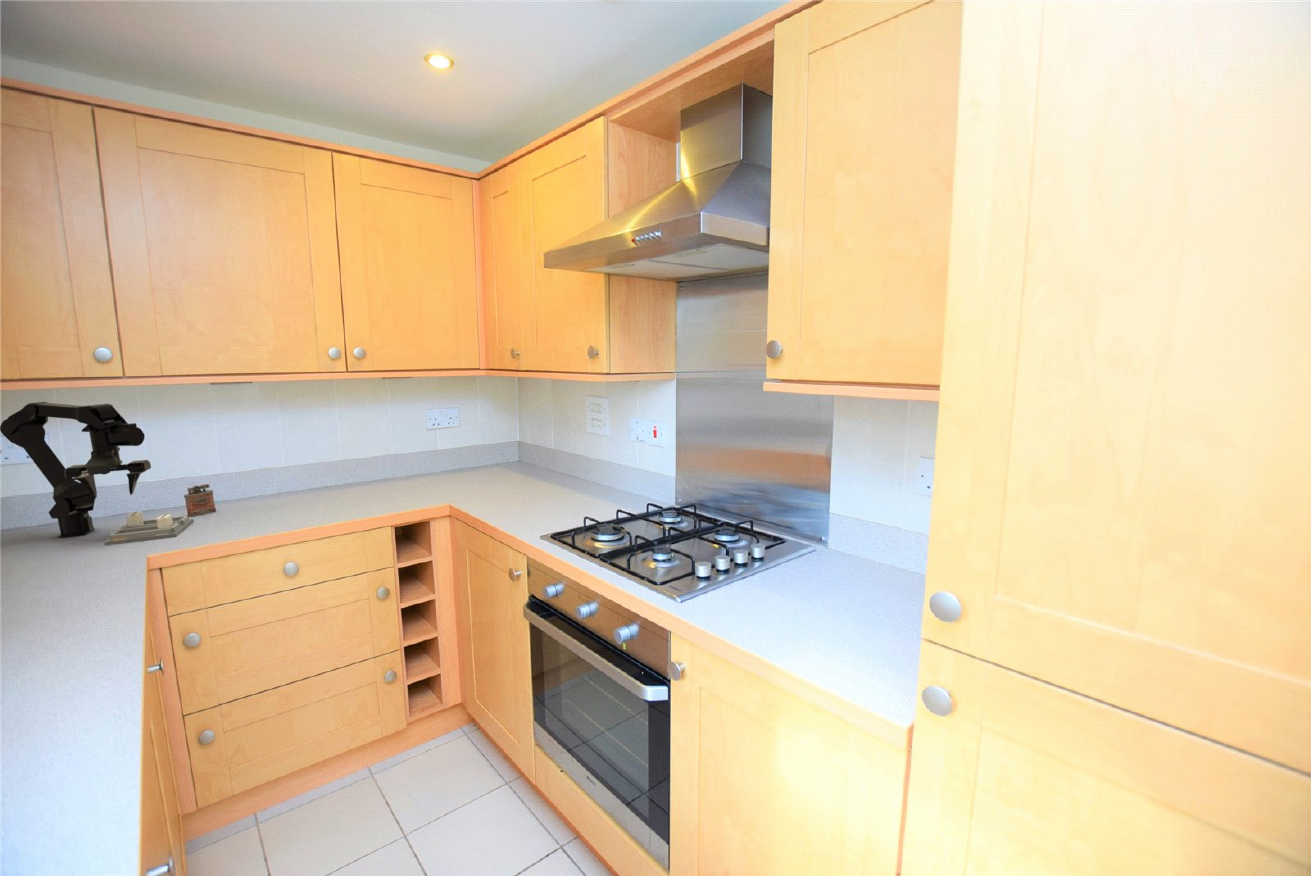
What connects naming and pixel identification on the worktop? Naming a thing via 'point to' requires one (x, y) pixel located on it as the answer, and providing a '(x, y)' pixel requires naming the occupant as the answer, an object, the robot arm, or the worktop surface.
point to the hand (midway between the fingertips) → (113, 496)
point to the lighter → (199, 501)
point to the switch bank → (148, 531)
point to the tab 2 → (164, 521)
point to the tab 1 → (135, 519)
